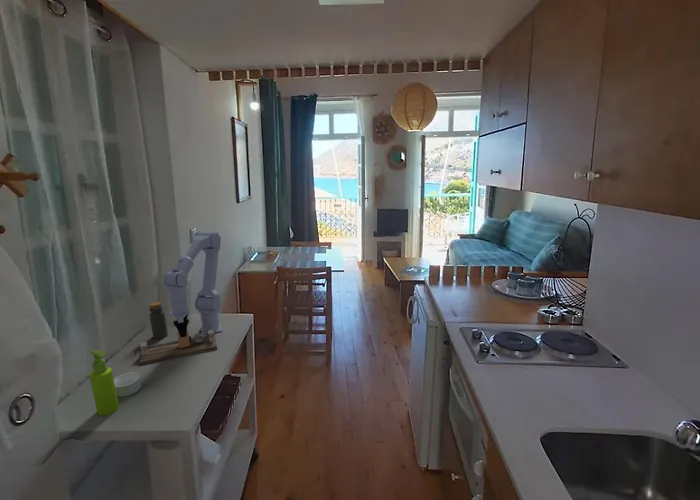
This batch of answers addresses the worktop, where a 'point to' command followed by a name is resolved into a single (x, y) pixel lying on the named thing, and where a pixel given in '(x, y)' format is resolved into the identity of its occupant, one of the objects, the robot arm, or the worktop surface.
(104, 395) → the soap dispenser
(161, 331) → the bottle
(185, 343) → the sleeve
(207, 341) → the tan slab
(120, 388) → the ramekin
